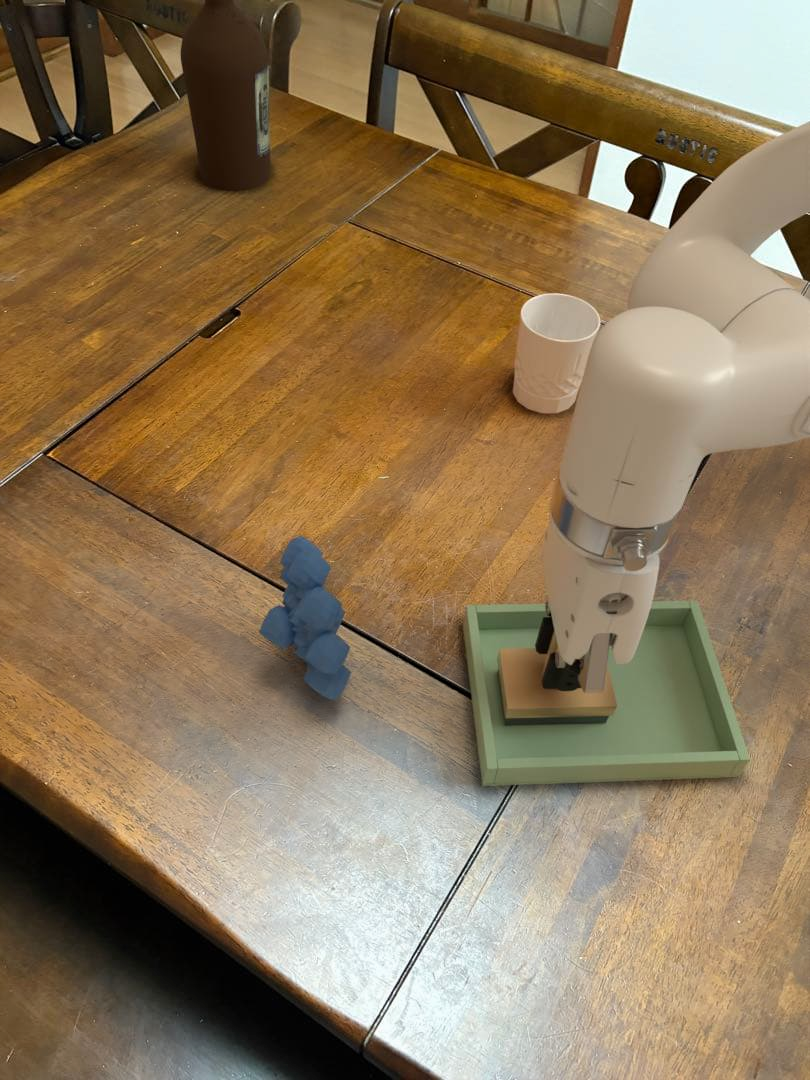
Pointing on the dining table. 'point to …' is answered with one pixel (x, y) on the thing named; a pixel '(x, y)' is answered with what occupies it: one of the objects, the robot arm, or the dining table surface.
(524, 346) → the white cup
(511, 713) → the brush
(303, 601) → the grapes
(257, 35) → the olive oil
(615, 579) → the robot arm
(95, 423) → the dining table surface
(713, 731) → the tray
